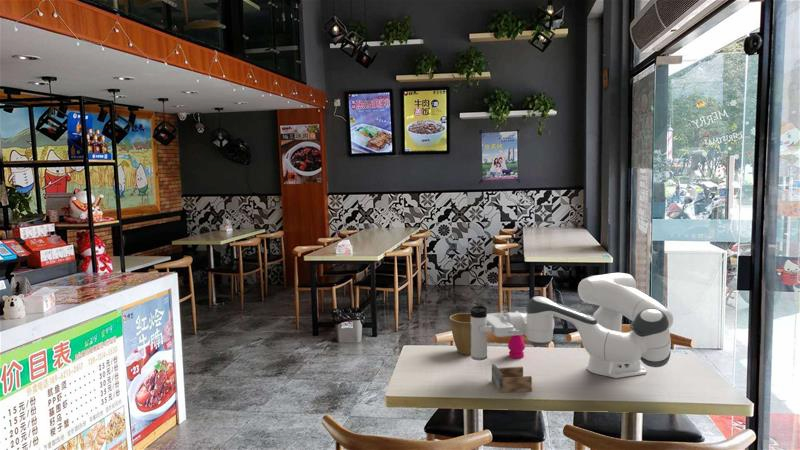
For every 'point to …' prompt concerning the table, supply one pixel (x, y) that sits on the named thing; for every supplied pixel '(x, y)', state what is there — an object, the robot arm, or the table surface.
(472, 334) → the travel mug
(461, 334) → the plant pot
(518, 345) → the pepper mill
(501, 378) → the cradle
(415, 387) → the table surface
